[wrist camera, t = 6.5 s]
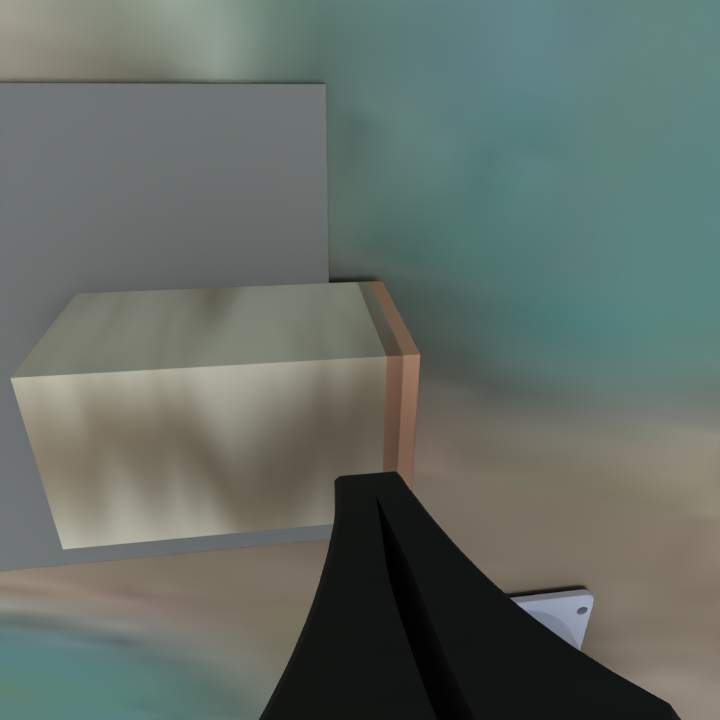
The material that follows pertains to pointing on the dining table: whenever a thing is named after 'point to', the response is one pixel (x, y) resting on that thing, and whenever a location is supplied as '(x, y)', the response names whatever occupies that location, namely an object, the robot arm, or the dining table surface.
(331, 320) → the block
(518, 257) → the dining table surface
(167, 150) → the mat
